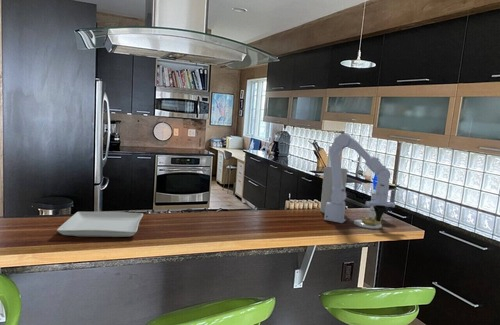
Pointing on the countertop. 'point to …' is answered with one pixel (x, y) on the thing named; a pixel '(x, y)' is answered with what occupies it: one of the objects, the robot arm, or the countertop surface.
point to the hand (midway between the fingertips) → (378, 220)
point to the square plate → (101, 224)
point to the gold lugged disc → (370, 220)
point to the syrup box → (372, 211)
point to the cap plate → (367, 225)
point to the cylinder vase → (329, 186)
